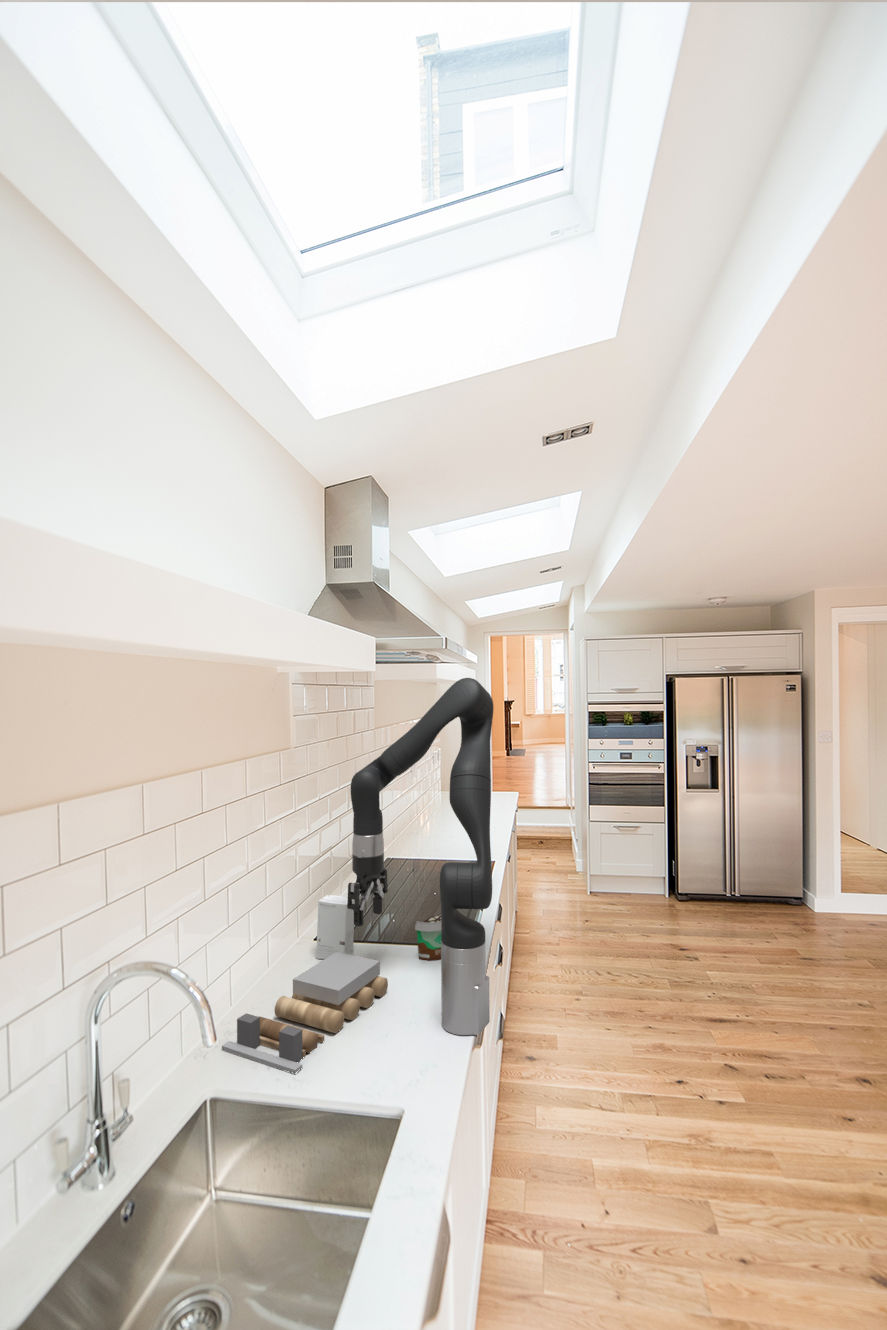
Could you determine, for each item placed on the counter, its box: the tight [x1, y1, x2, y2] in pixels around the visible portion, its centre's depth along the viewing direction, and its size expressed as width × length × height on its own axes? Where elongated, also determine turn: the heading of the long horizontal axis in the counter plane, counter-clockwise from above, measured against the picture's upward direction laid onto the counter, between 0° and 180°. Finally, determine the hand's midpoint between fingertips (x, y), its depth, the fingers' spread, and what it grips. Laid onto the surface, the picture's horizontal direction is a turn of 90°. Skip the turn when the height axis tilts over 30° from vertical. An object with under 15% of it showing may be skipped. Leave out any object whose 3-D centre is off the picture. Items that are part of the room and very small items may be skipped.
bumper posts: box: [221, 1012, 303, 1073], centre depth 127 cm, size 18×4×6 cm, turn 63°
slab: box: [292, 952, 381, 1005], centre depth 148 cm, size 12×16×3 cm
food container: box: [414, 913, 441, 962], centre depth 173 cm, size 12×6×10 cm, turn 143°
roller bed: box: [260, 975, 389, 1059], centre depth 143 cm, size 15×30×4 cm, turn 153°
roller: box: [258, 1016, 319, 1054], centre depth 132 cm, size 14×4×4 cm, turn 63°
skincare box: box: [315, 894, 355, 960], centre depth 173 cm, size 8×6×15 cm
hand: (368, 919), depth 160 cm, fingers open, 8 cm apart
